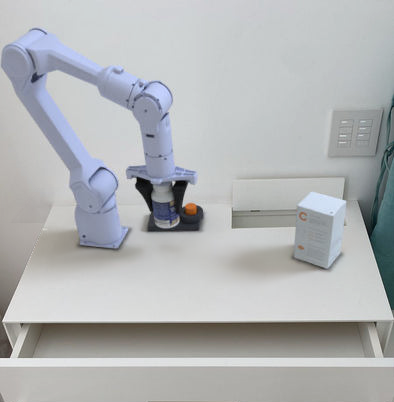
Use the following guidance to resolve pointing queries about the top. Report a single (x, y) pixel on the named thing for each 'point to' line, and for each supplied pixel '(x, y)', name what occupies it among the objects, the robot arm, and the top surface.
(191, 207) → the button
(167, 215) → the pill bottle
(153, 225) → the scale
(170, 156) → the robot arm
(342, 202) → the small box
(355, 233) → the top surface
